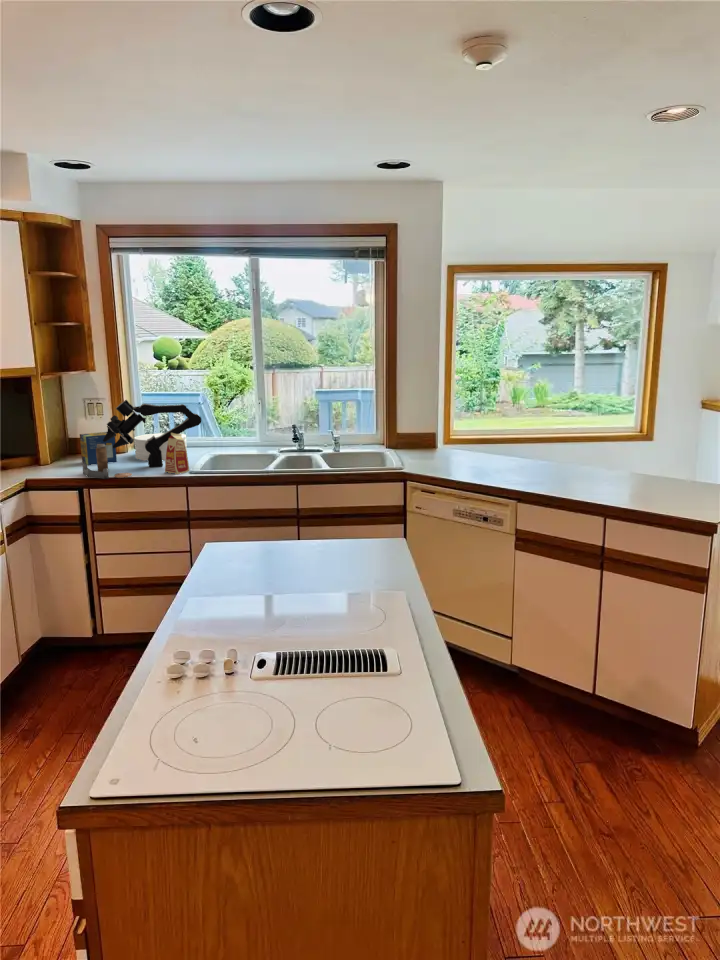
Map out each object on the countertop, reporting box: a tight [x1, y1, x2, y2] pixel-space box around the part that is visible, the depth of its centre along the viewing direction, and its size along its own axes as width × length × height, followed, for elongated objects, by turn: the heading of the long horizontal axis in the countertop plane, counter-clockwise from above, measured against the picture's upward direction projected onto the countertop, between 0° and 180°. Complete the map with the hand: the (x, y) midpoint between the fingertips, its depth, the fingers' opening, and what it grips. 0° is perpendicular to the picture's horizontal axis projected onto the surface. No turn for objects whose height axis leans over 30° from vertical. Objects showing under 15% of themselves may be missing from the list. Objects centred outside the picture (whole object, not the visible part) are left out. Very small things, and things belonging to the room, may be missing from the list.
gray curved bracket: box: [82, 463, 110, 480], centre depth 306 cm, size 5×21×5 cm, turn 52°
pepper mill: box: [96, 444, 109, 471], centre depth 314 cm, size 5×5×14 cm
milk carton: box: [164, 433, 190, 475], centre depth 315 cm, size 9×9×20 cm
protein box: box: [79, 431, 118, 466], centre depth 341 cm, size 10×15×16 cm
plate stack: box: [133, 432, 188, 461], centre depth 359 cm, size 28×28×12 cm
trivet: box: [113, 472, 133, 479], centre depth 307 cm, size 8×8×1 cm
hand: (108, 444), depth 321 cm, fingers open, 9 cm apart
